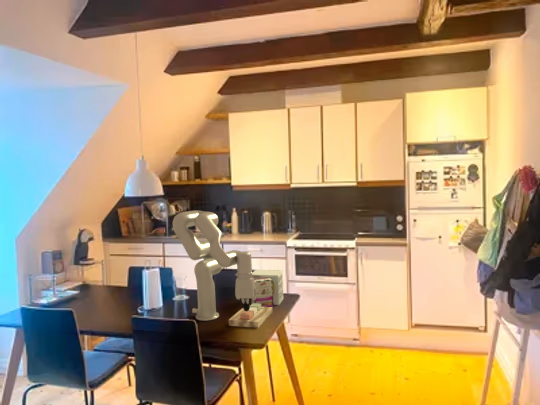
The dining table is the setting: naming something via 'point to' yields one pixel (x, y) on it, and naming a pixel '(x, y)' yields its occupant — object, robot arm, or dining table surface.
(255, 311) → the offwhite key
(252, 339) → the dining table surface
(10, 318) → the dining table surface
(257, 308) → the sage key
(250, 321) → the keypad base
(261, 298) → the candy bar box
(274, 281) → the supplement box
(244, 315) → the terracotta key
